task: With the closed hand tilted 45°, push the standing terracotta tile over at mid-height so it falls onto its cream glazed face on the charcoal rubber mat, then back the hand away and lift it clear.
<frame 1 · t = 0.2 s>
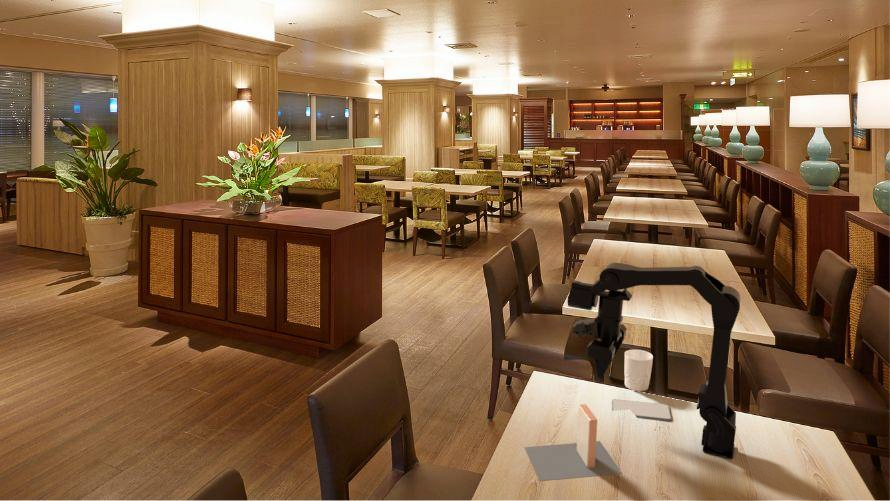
hand: (604, 370, 144), 14 cm above the table, tool pointing down, fingers open, 9 cm apart
smartphone: (640, 412, 153), on the table
terracotta tile: (585, 458, 131), resting on rubber mat
rubber mat: (571, 461, 130), on the table
white cup: (636, 386, 166), on the table
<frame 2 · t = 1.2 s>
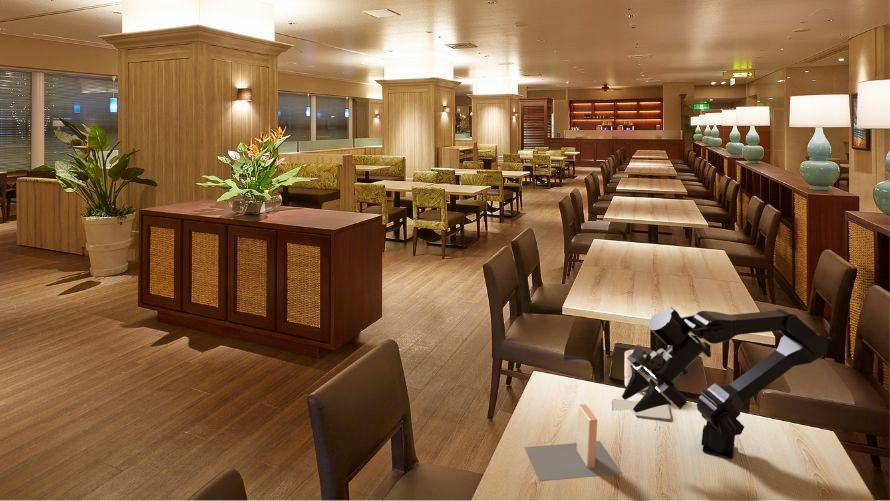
hand: (628, 404, 129), 14 cm above the table, tool tilted 45°, fingers open, 6 cm apart
nothing on the table moved.
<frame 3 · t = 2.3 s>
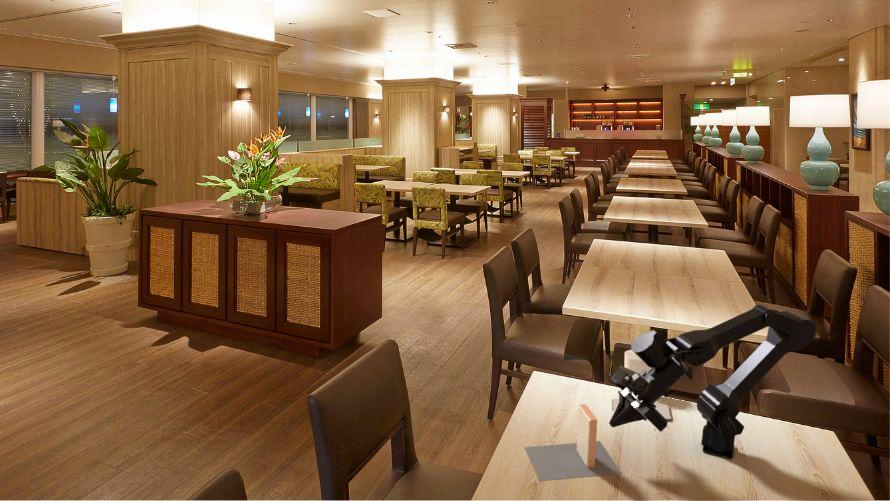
hand: (610, 425, 129), 9 cm above the table, tool tilted 45°, fingers closed
nothing on the table moved.
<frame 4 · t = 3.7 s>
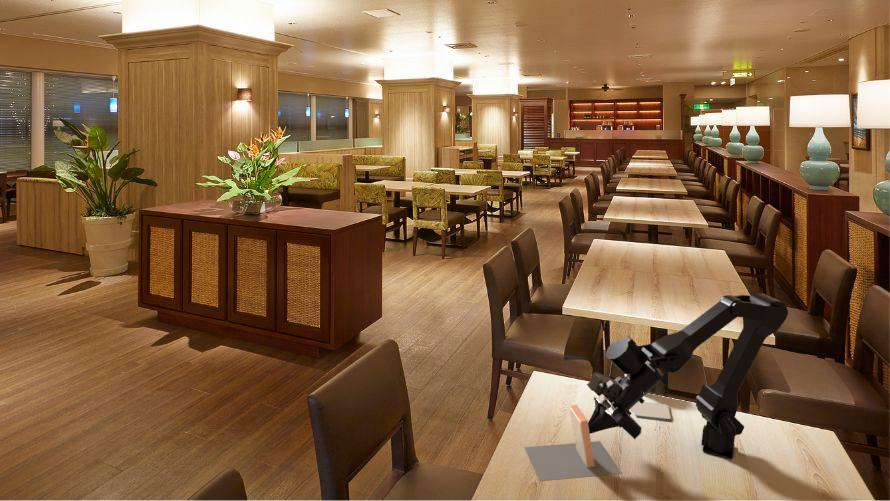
hand: (586, 432, 129), 7 cm above the table, tool tilted 45°, fingers closed
terracotta tile: (585, 458, 131), point 1 cm above the table, tilted 11°, touching rubber mat
everything else where it was.
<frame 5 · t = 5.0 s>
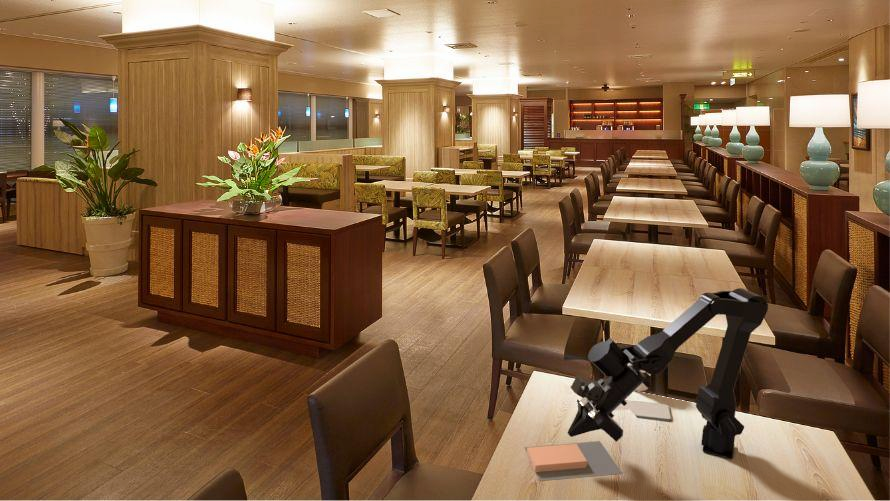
hand: (569, 434, 128), 7 cm above the table, tool tilted 45°, fingers closed
terracotta tile: (581, 455, 130), point 2 cm above the table, tilted 90°, touching rubber mat
everything else where it was.
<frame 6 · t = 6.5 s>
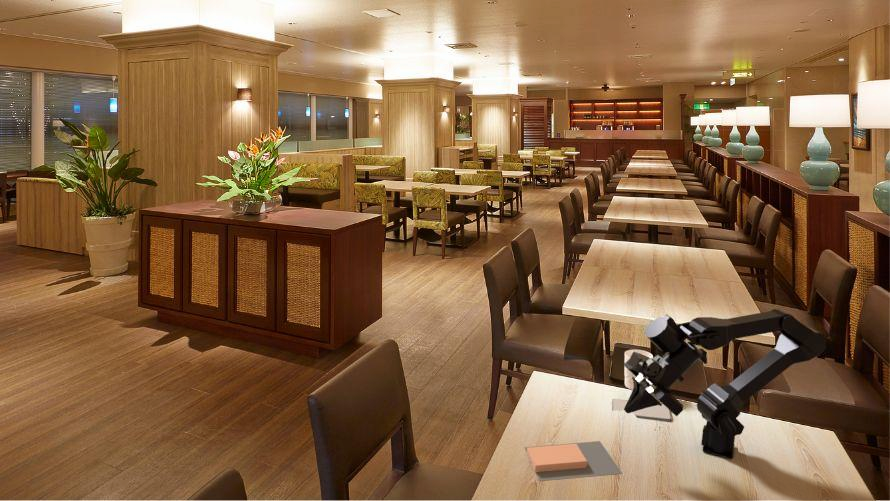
hand: (625, 411, 129), 12 cm above the table, tool tilted 45°, fingers closed
nothing on the table moved.
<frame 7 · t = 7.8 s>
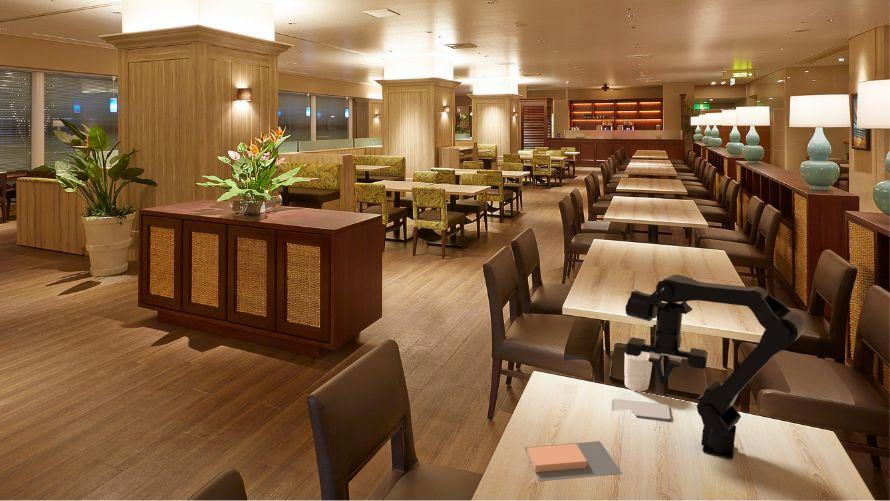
hand: (662, 383, 142), 12 cm above the table, tool pointing down, fingers closed
nothing on the table moved.
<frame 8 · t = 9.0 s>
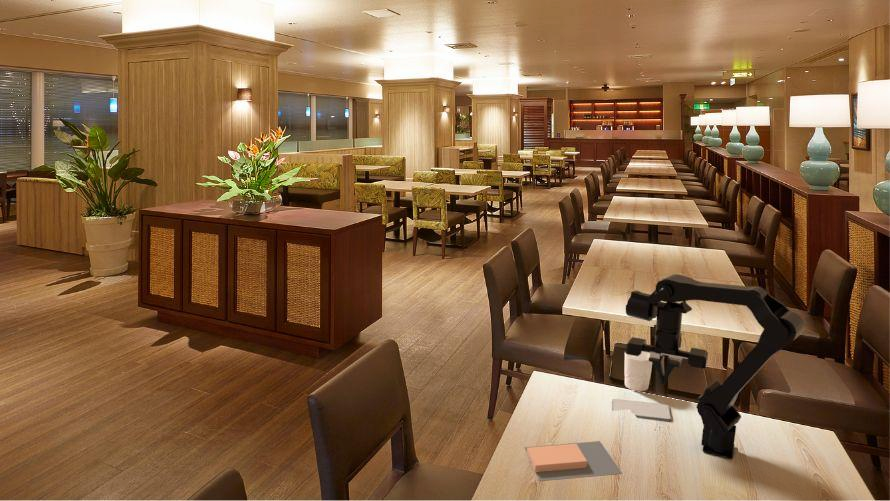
hand: (663, 383, 142), 12 cm above the table, tool pointing down, fingers closed
nothing on the table moved.
at the end: terracotta tile tilted 90°; terracotta tile inside the target area on the rubber mat (2.4 cm from its centre), point 1.5 cm above the rubber mat's base; terracotta tile touching rubber mat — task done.
